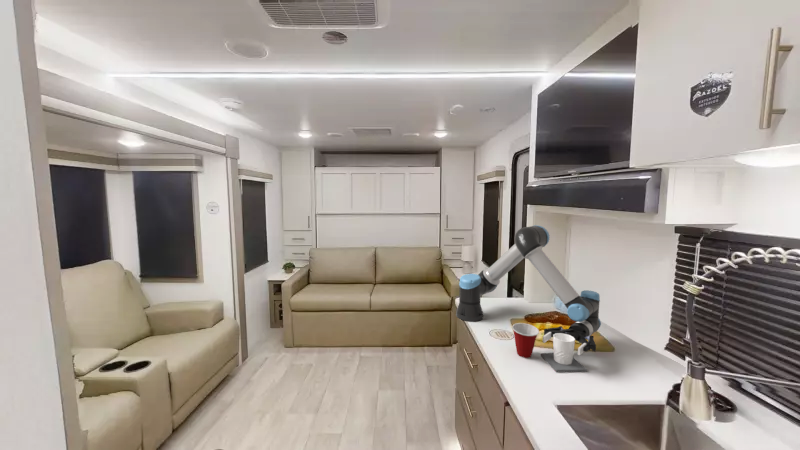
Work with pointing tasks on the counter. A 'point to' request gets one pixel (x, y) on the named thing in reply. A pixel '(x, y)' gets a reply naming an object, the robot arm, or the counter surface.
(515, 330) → the plastic cup
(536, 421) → the counter surface
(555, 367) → the charcoal mat
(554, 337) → the white cup
